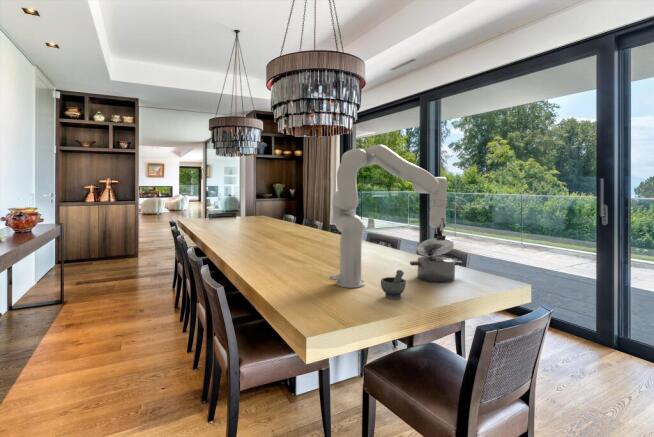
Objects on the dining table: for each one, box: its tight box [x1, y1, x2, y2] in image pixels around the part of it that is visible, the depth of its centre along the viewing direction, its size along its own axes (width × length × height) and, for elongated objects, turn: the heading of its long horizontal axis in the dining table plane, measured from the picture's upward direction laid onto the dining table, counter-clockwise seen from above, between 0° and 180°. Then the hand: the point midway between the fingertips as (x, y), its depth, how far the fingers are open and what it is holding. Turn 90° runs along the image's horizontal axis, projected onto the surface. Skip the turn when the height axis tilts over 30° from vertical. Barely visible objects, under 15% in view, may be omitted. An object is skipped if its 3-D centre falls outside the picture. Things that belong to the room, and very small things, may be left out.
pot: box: [409, 255, 464, 284], centre depth 171 cm, size 25×18×9 cm
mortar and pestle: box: [380, 269, 407, 301], centre depth 140 cm, size 11×9×12 cm
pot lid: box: [416, 234, 455, 257], centre depth 171 cm, size 17×19×3 cm
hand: (438, 242), depth 169 cm, fingers closed
